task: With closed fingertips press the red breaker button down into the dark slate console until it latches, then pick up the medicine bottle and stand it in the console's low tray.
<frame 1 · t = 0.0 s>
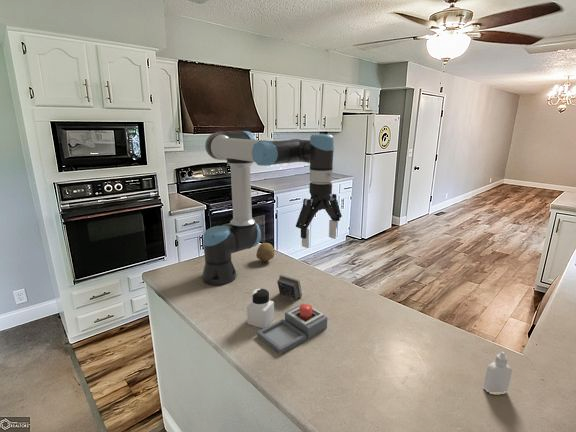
hand: (319, 242, 114), 28 cm above the counter, fingers open, 13 cm apart
medicine bottle: (261, 321, 117), on the counter
console: (296, 330, 112), on the counter
breaker button: (305, 312, 113), point 5 cm above the counter, slide at 0.0 cm
natural sponge: (266, 262, 166), on the counter
eye dropper bottle: (494, 391, 87), on the counter
electrical switch: (289, 297, 133), on the counter
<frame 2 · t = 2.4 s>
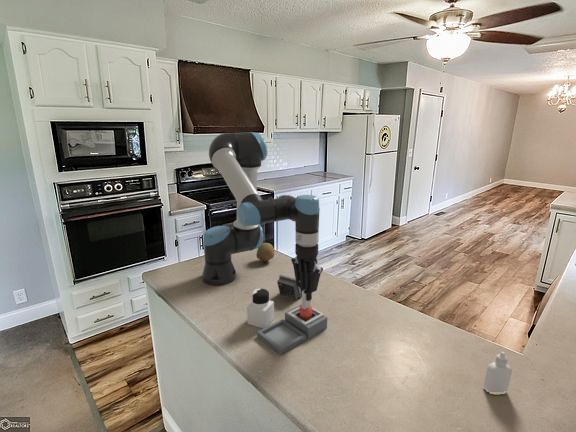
hand: (306, 307, 112), 7 cm above the counter, fingers closed
breaker button: (305, 312, 113), point 5 cm above the counter, slide at 0.2 cm, touching gripper
everything else where it was.
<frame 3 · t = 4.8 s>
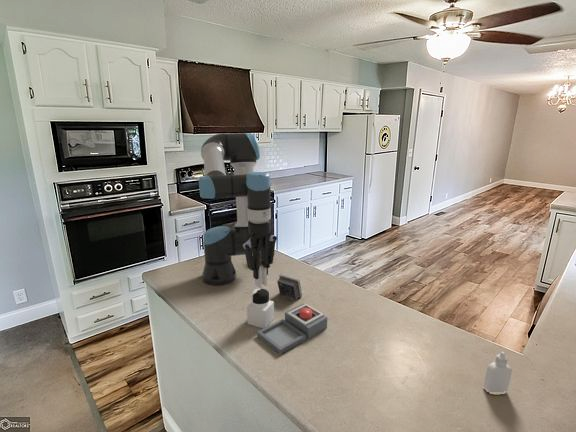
hand: (261, 285, 113), 14 cm above the counter, fingers closed
breaker button: (305, 316, 114), point 4 cm above the counter, slide at 1.6 cm
everything else where it was.
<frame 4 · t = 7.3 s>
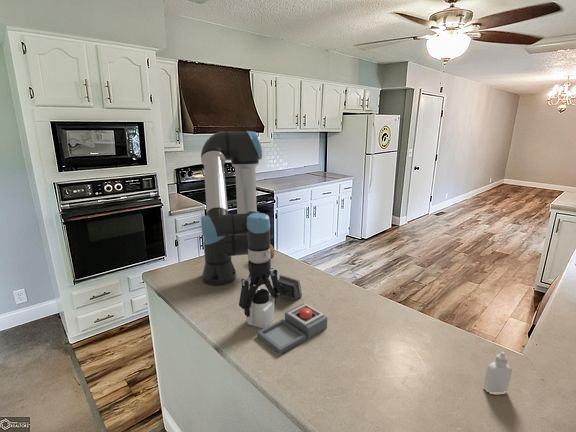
hand: (261, 317, 116), 2 cm above the counter, fingers closed on medicine bottle, 9 cm apart
medicine bottle: (261, 321, 117), on the counter, touching gripper
everything else where it was.
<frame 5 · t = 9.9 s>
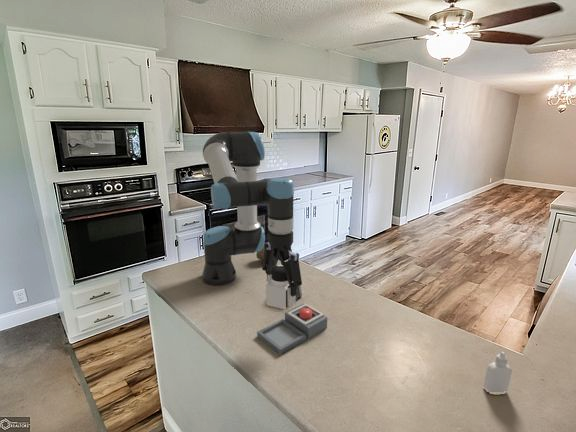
hand: (281, 297, 103), 15 cm above the counter, fingers closed on medicine bottle, 9 cm apart
medicine bottle: (281, 302, 104), point 13 cm above the counter, touching gripper
everything else where it was.
when the fingers open (3 cm above the counter, at t = 12.3 s): medicine bottle stays where it is, resting on console.
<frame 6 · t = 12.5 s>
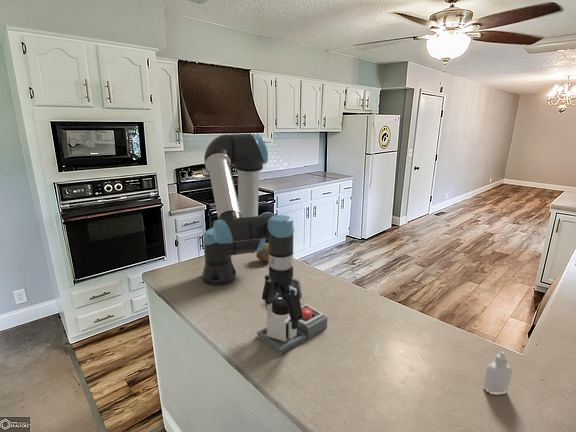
hand: (281, 328, 107), 4 cm above the counter, fingers open, 10 cm apart
medicine bottle: (281, 333, 107), point 2 cm above the counter, touching console
everything else where it was.
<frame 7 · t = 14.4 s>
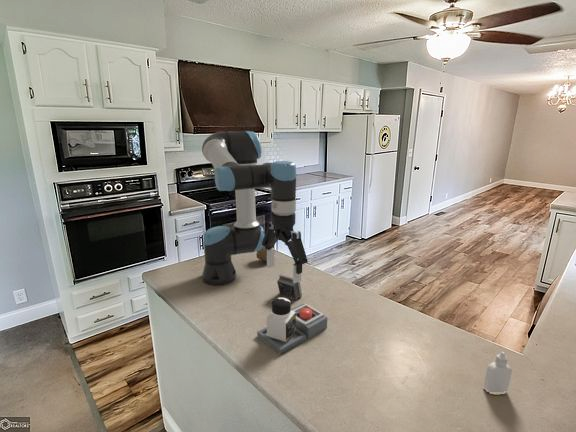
hand: (283, 274, 107), 20 cm above the counter, fingers open, 13 cm apart
nothing on the counter moved.
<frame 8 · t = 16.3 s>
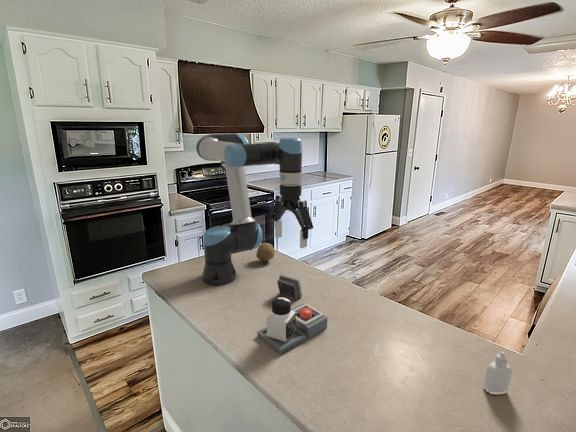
hand: (290, 242, 118), 27 cm above the counter, fingers open, 13 cm apart
nothing on the counter moved.
at the end: breaker button slide at 1.6 cm; medicine bottle inside the target area (0.0 cm from its centre), point 1.6 cm above the counter; medicine bottle tilted 0° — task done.
